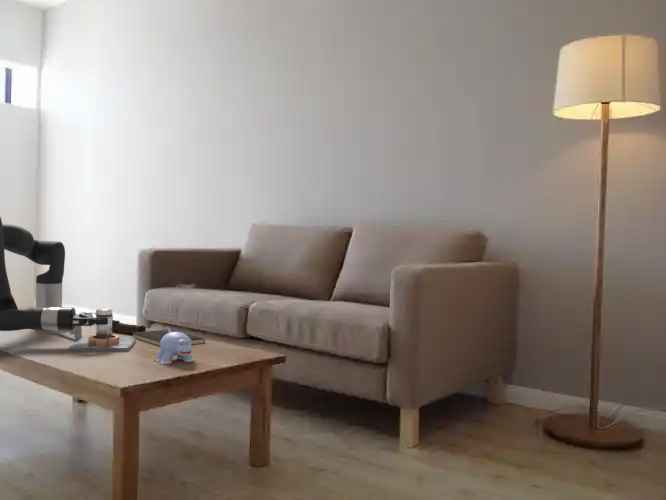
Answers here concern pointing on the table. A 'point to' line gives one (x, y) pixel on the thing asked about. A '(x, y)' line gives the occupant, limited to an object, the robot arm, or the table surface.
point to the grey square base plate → (103, 344)
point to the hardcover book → (157, 335)
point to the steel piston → (104, 330)
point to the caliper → (72, 332)
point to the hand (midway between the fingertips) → (110, 319)
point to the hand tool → (126, 327)
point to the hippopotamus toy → (174, 347)
